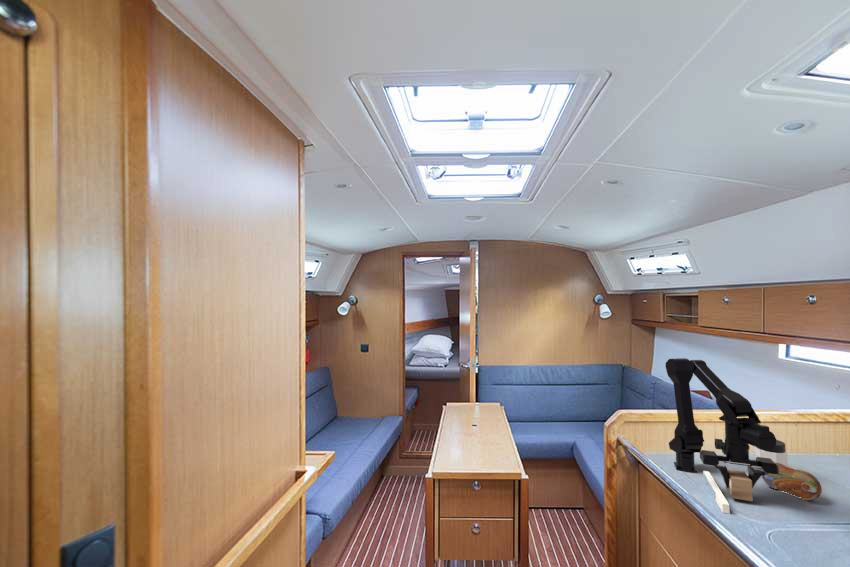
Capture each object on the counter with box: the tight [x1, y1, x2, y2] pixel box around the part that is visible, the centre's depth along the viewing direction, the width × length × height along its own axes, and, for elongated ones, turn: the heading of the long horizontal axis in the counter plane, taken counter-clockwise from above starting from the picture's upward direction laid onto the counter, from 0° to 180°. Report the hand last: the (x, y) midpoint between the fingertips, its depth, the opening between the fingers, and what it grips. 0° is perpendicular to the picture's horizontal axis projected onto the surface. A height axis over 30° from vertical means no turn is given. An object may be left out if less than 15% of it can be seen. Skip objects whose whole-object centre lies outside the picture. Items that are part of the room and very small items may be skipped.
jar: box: [753, 439, 789, 478], centre depth 140 cm, size 9×8×12 cm
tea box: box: [725, 468, 753, 502], centre depth 125 cm, size 7×5×6 cm
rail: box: [702, 470, 731, 514], centre depth 127 cm, size 24×2×2 cm, turn 156°
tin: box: [761, 463, 823, 502], centre depth 127 cm, size 15×3×8 cm, turn 21°
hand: (738, 489), depth 124 cm, fingers closed on tea box, 5 cm apart
